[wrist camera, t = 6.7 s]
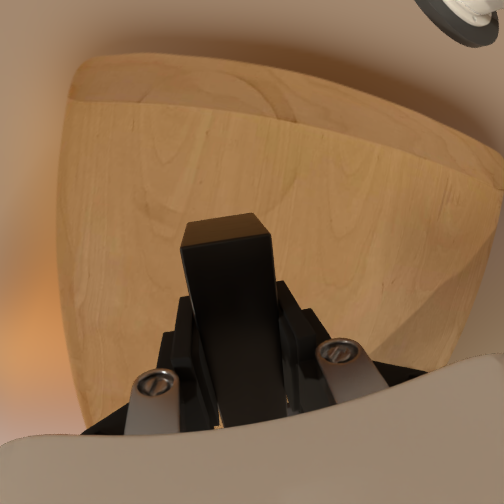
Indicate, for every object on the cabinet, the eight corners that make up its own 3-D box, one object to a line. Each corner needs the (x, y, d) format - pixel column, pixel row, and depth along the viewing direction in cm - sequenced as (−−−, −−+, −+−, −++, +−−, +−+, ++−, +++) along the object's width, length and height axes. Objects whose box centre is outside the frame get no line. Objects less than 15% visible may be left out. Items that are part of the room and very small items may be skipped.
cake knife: (186, 222, 11) (174, 262, 7) (253, 212, 11) (282, 245, 7) (249, 487, 16) (259, 538, 12) (284, 480, 17) (298, 531, 12)
